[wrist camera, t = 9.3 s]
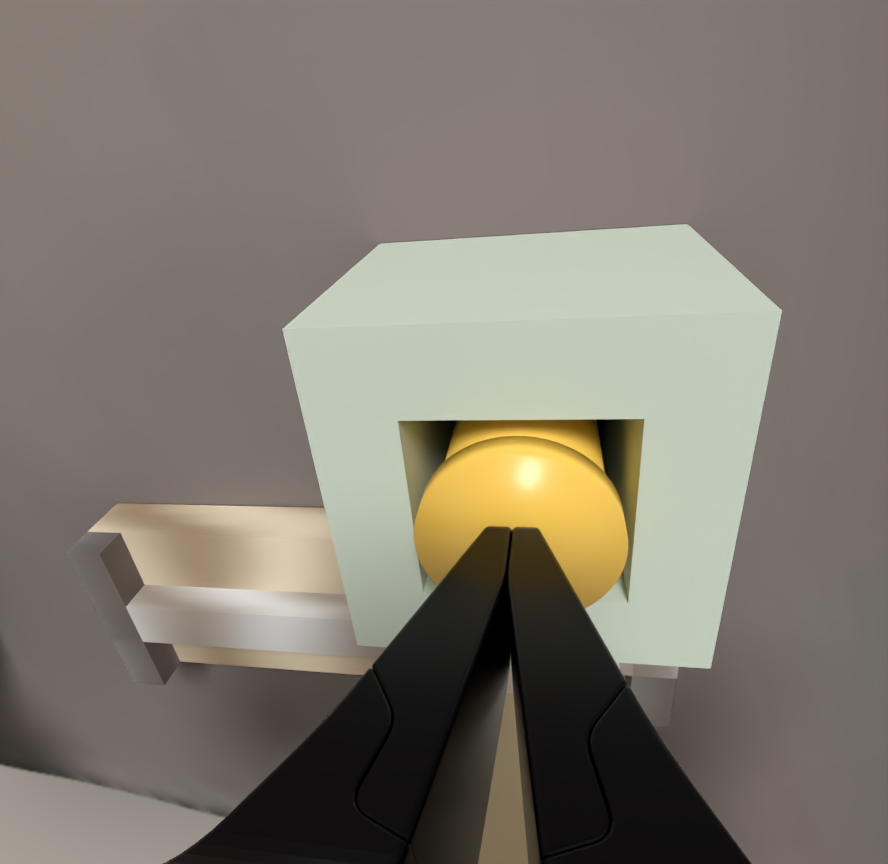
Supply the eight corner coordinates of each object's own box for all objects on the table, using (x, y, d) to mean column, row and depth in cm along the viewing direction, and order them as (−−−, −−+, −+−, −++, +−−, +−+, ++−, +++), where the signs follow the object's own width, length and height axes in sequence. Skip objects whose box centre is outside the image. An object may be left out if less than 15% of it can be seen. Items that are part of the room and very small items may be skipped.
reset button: (462, 458, 15) (425, 616, 10) (451, 333, 13) (400, 455, 9) (598, 459, 14) (621, 626, 10) (604, 328, 13) (636, 456, 8)
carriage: (437, 711, 18) (374, 1057, 12) (415, 569, 16) (315, 924, 9) (599, 724, 18) (630, 1107, 11) (608, 577, 15) (658, 979, 8)
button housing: (415, 494, 18) (360, 658, 12) (380, 243, 14) (282, 329, 9) (657, 498, 16) (707, 683, 11) (687, 224, 13) (781, 311, 8)
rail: (173, 627, 23) (134, 682, 21) (117, 503, 20) (65, 553, 18) (655, 657, 19) (669, 727, 17) (673, 515, 16) (692, 577, 14)
